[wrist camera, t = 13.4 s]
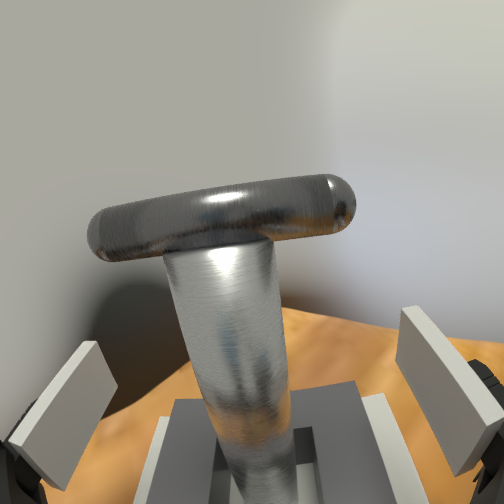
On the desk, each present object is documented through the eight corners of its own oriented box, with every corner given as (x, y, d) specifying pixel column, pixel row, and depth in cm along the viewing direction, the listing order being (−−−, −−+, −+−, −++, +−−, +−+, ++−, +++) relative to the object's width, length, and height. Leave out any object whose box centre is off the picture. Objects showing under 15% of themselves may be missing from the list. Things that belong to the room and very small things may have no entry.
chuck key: (335, 471, 14) (338, 169, 9) (342, 511, 11) (372, 175, 6) (208, 481, 14) (107, 204, 9) (203, 520, 11) (57, 223, 7)
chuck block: (380, 405, 20) (388, 351, 18) (440, 570, 5) (484, 546, 4) (166, 428, 21) (142, 379, 19) (123, 590, 6) (67, 567, 5)
